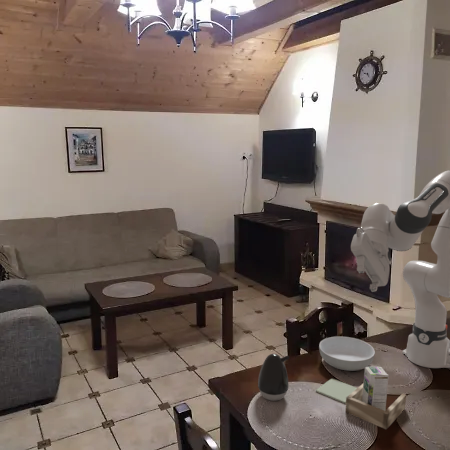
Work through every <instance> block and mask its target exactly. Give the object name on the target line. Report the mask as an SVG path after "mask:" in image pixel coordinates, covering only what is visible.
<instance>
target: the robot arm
mask: <svg viewBox="0 0 450 450" xmlns="http://www.w3.org/2000/svg"><path fill="white" fill-rule="evenodd" d="M433 214H435V215H440V214H442V217H441V218H440V220H439V223H438V224H437V228H436V230H435V232H434V235H433V237H432V239H431V242H430V247H431V250H432V251H433V252H434V254H436V256H437V261H436V263H434V262H428V261H425V260H410V261H408V262H407V263H406V264H405V265H404V267H403V268H402V269H403V270H402V277H403V280H404V281H405V283H406V284H407V285H408V287H409V289H410V290H411V293H412V295H413V300H414V306H415V308H414V309H415V312H414V322H413V324H412V333H410V334H409V335H408V337H407V343H406V348H405V349H403V350H402V354H403V355H404V354H405V355H404V356H406V358H407V357H408V358H407V359H408V360H409V361H410V362H411V363H413V364H415V365H418V366H420V367H423V368H430V369H441V368H443V369H444V368H446V369H450V339H449V338H448V337H447V335H448V334H447V333H448V332H447V330H448V324H446V323H447V315H448V314H447V313H448V310H447V307H446V306H445V304H444V303H443V302H442V301H441V299H440V298H439V296H441V297H443V298H448V299H450V170H449V169H448V170H445V171H442V172H441V173H439V174H438V175H436V176H435V177H433V178H432V179H431V180H430V181H429V182H428V183H427V184H426V185H425V186H424V187H423V189H422V190H421V191H420V193H419V195H418V196H416V198H413V199H411V200H407V201H405V202H402V203H401V204H400V205H399V206H398V207H397V210H396V212H395V214H394V213H393V212H392V211H391V209H390V208H389V206H388V205H387V204H384V203H380V202H379V203H377V202H376V203H373V204H371V205H369V206H368V207H367V208H366V209H365V210H364V213H363V215H362V218H361V219H362V220H361V223H360V227H358V228H357V229H356V233H355V234H354V235H353V237H352V240H351V243H350V251H351V253H352V254H353V256H354V257H355V258H356V265H357V266H356V271H357V272H358V273H359V274H364V273H366V275H367V276H368V278H369V279H370V280H371V283H370V284H369V290H370V291H371V292H372V293H373V292H377V290H378V287H385V286H386V285H387V284H388V282H389V278H390V277H389V276H390V265H391V264H392V261H393V260H392V256H391V254H390V251H389V249H391V250H393V251H397V252H406V251H409V250H411V249H412V248H413V247H414V245H415V243H416V242H418V241H417V240H418V239H419V238H420V236H421V235H422V234H423V232H424V230H426V229H427V227H428V226H429V225H430V223H431V221H432V215H433Z"/></svg>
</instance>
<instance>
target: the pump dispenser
mask: <svg viewBox="0 0 450 450" xmlns="http://www.w3.org/2000/svg"><path fill="white" fill-rule="evenodd" d="M289 359H290V356H289V355H285V356H283V357H281V356H280V355H279V354H277V353H271V354H269V355H267V356H266V358H265V359H264V361H263V363H262V364H261V367H260V371H259V374H258V379H257V381H258V382H257V387H258V389H259V392H260V395H261V396H262V397H263V398H264V399H266V400H267V401H271V402H276V401H280V400H282V399H283V398H284V397H286V395H287V391H288V390H289V377H288V376H289V375H288V372H287V368H286V365H285V363H284V362H286V361H288V360H289Z"/></svg>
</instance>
